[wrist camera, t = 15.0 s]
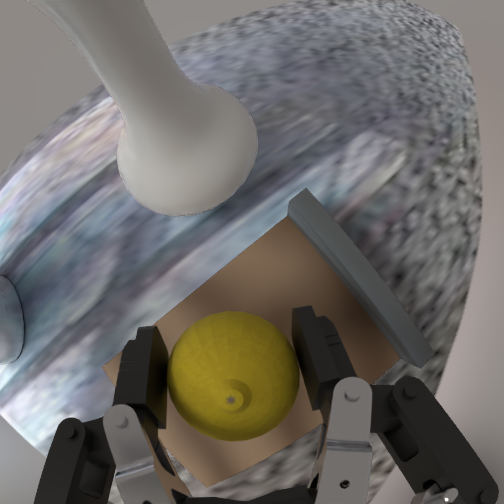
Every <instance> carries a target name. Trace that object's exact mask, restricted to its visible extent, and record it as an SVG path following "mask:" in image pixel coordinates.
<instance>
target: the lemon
mask: <svg viewBox="0 0 504 504" xmlns="http://www.w3.org/2000/svg"><path fill="white" fill-rule="evenodd" d="M167 385H168V390H169V395H170V398H171V400H172V402H173V404H174V406H175V408H176V410H177V412H178V413H179V414H180V416H181V417H182V418H183V419H184V420H185V421H186V423H187V424H189V425H190V426H191V427H193V428H194V429H196V430H197V431H198V432H200V433H201V434H204V435H206V436H209V437H211V438H214V439H217V440H223V441H229V442H235V441H247V440H250V439H254V438H257V437H260V436H262V435H264V434H266V433H268V432H269V431H271V430H273V429H274V428H276V427H277V426H278V425H279V424H280V423H281V422H282V421H283V420H284V419H285V418H286V417H287V415H288V414H289V412H290V410H291V409H292V407H293V405H294V403H295V401H296V397H297V394H298V390H299V386H300V368H299V364H298V361H297V357H296V354H295V351H294V349H293V347H292V346H291V344H290V342H289V341H288V339H287V337H286V336H285V335H284V334H283V333H282V332H281V331H280V330H279V329H278V328H277V327H276V326H275V325H273V324H272V323H270V322H268V321H266V320H265V319H263V318H261V317H260V316H256V315H253V314H250V313H246V312H237V311H225V312H220V313H215V314H211V315H209V316H207V317H205V318H203V319H200V320H198V321H196V322H195V323H194V324H193V325H191V326H190V327H189V328H188V329H187V330H185V331H184V332H183V334H182V335H181V336H180V338H179V339H178V341H177V342H176V344H175V345H174V347H173V349H172V352H171V355H170V358H169V360H168V367H167Z"/></svg>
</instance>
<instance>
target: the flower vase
mask: <svg viewBox="0 0 504 504" xmlns="http://www.w3.org/2000/svg"><path fill="white" fill-rule="evenodd" d="M26 1H28V2H29V3H30V4H32V5H33V6H34V7H36V8H37V9H38V10H39V11H41V12H42V13H43V14H45V15H46V16H47V17H48V18H49V19H51V21H53V22H54V23H55V24H56V25H57V26H58V27H59V28H60V29H61V30H62V32H63V33H64V34H65V35H66V36H67V37H68V38H69V39H70V41H71V42H72V43H73V44H74V46H75V47H76V48H77V49H78V51H79V52H80V53H81V55H82V56H83V57H84V59H85V60H86V62H87V63H88V65H89V66H90V67H91V69H92V70H93V71H94V73H95V74H96V76H97V77H98V78H99V80H100V81H101V83H102V84H103V85H104V87H105V88H106V89H107V91H108V92H109V94H110V95H111V97H112V98H113V100H114V101H115V103H116V105H117V106H118V108H119V110H120V113H121V115H122V119H123V122H124V126H123V129H122V131H121V134H120V137H119V142H118V149H117V163H118V170H119V175H120V177H121V179H122V181H123V183H124V185H125V187H126V189H127V191H128V193H129V194H130V195H131V196H132V197H133V198H134V199H135V200H136V201H137V202H138V203H139V204H140V205H141V206H143V207H145V208H147V209H149V210H151V211H153V212H155V213H157V214H161V215H167V216H173V217H181V216H190V215H197V214H200V213H203V212H205V211H208V210H211V209H213V208H216V207H217V206H219V205H220V204H222V203H223V202H225V201H226V200H228V199H229V198H231V197H232V196H233V195H234V194H235V193H236V191H237V190H238V189H239V188H240V187H241V186H242V185H243V184H244V183H245V181H246V179H247V178H248V176H249V174H250V172H251V170H252V168H253V167H254V165H255V160H256V156H257V151H258V135H257V128H256V126H255V123H254V121H253V119H252V116H251V114H250V112H249V111H248V109H247V108H246V107H245V106H244V105H243V104H242V103H241V101H240V100H239V99H238V98H237V97H236V96H235V95H233V94H231V93H230V92H228V91H226V90H224V89H223V88H221V87H218V86H214V85H211V84H207V83H202V82H193V81H192V80H190V79H189V78H188V77H187V76H186V75H185V74H184V73H183V72H182V70H181V69H180V67H179V66H178V64H177V63H176V61H175V59H174V58H173V56H172V54H171V52H170V50H169V49H168V47H167V45H166V43H165V41H164V39H163V37H162V36H161V33H160V32H159V30H158V28H157V26H156V24H155V22H154V20H153V18H152V16H151V14H150V12H149V10H148V8H147V6H146V4H145V2H144V0H26Z"/></svg>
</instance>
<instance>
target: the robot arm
mask: <svg viewBox="0 0 504 504" xmlns="http://www.w3.org/2000/svg"><path fill="white" fill-rule="evenodd" d="M291 336H292V343H293V347H294V350H295V353H296V357H297V360H298V363H299V367H300V370H301V374H302V377H303V380H304V384H305V387H306V390H307V394H308V397H309V401H310V404H311V408H312V411H315V410H320V412H321V415H322V418H323V424H322V430H321V435H320V440H319V446H318V451H317V456H316V460H315V464H314V467H313V470H312V474H311V478H310V482H309V487H308V488H307V486H306V485H303V486H298V487H293V488H288V489H282V490H277V491H274V492H271V493H269V494H266V495H264V496H261V497H258V498H255V499H253V500H250V501H237V500H230V499H223V498H217V497H197V498H193V496H192V495H191V493H190V491H189V490H188V488H187V487H186V485H185V484H184V482H183V481H182V480H181V479H180V477H179V476H178V474H177V472H176V470H175V468H174V466H173V464H172V462H171V460H170V458H169V456H168V454H167V452H166V450H165V448H164V445H163V443H162V441H161V439H160V438H159V437H158V429H166V423H167V391H168V385H167V367H168V360H169V355H168V350H167V347H166V345H165V343H164V341H163V338H162V336H161V334H160V331H159V329H158V327H157V326H147V327H139V328H138V331H137V336H136V340H129V341H128V343H127V344H126V346H125V347H124V349H123V350H122V355H121V360H120V361H121V363H120V366H119V372H118V376H117V382H116V388H115V394H114V401H113V405H112V407H111V408H109V409H108V410H107V412H106V413H105V415H104V416H103V417H101V418H99V419H95V420H92V421H88V422H84V423H82V422H81V421H80V420H78V419H76V418H66V419H64V420H63V421H62V422H61V423H60V424H59V426H58V428H57V430H56V433H55V436H54V439H53V441H52V444H51V447H50V450H49V453H48V456H47V459H46V462H45V465H44V469H43V472H42V475H41V478H40V482H39V485H38V489H37V493H36V497H35V500H34V504H107V502H108V498H109V494H110V490H111V485H112V481H113V477H114V473H115V469H116V467H117V474H116V475H115V481H116V485H117V487H118V490H119V492H120V495H121V497H122V499H123V502H124V504H366V499H367V493H368V486H369V479H370V472H371V464H372V447H371V446H370V444H369V437H370V433H377V434H378V436H379V438H380V439H381V441H382V442H383V444H384V445H385V447H386V448H387V450H388V452H389V453H390V455H391V456H392V458H393V459H394V461H395V462H396V464H397V466H398V467H399V469H400V470H401V472H402V473H403V475H404V476H405V478H406V480H407V481H408V483H409V484H410V486H411V488H412V489H413V491H414V492H415V494H416V495H415V496H414V498H413V500H412V502H411V504H495V503H496V501H497V498H498V493H499V490H498V486H497V484H496V482H495V481H494V479H493V478H492V476H491V475H490V473H489V472H488V470H487V469H486V467H485V466H484V464H483V463H482V461H481V460H480V458H479V457H478V456H477V454H476V453H475V452H474V450H473V449H472V447H471V446H470V444H469V443H468V442H467V440H466V439H465V437H464V436H463V435H462V433H461V432H460V431H459V429H458V428H457V426H456V425H455V424H454V422H453V421H452V420H451V418H450V417H449V416H448V414H447V413H446V412H445V411H444V409H443V408H442V406H441V405H440V404H439V403H438V401H437V400H436V399H435V397H434V396H433V395H432V393H431V392H430V391H429V390H428V388H427V387H426V386H425V385H424V383H423V382H422V381H421V380H419V379H418V378H415V377H411V376H407V377H403V378H401V379H399V380H398V381H397V382H396V383H395V385H371V384H368V383H367V382H366V381H364V380H363V379H361V378H359V377H358V376H357V374H356V372H355V370H354V368H353V366H352V363H351V361H350V359H349V356H348V354H347V352H346V350H345V347H344V345H343V344H342V341H341V338H340V336H339V335H338V332H337V329H336V327H335V325H334V323H333V322H332V321H331V320H329V319H328V318H327V317H326V316H319V317H316V315H315V313H314V310H313V308H312V306H311V305H309V306H303V307H297V308H293V309H292V328H291ZM23 338H24V322H23V314H22V309H21V304H20V301H19V298H18V295H17V293H16V291H15V288H14V287H13V285H12V284H11V282H10V281H9V280H8V279H7V278H6V277H3V276H0V364H5V363H10V362H13V361H15V360H16V359H17V358H18V356H19V355H20V352H21V350H22V345H23Z"/></svg>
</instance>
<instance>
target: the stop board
mask: <svg viewBox="0 0 504 504" xmlns="http://www.w3.org/2000/svg"><path fill="white" fill-rule="evenodd" d="M309 305H311V306H312V308H313V310H314V313H315V315H316V317H319V316H326V317H327V318H328V319H329V320H331V321H332V322H333V323H334V325H335V327H336V329H337V332H338V335H339V336H340V338H341V341H342V344H343V345H344V347H345V350H346V352H347V354H348V356H349V359H350V361H351V363H352V366H353V368H354V370H355V372H356V374H357V376H358V377H359V378H361V379H363V380H364V381H366V382H367V383H368V384H371V385H372V384H373V383H374V382H375V381H376V380H377V379H378V378H380V377H381V376H382V375H383V374H384V373H385V372H386V371H387V370H388V369H390V368H391V367H392V366H393V365H394V364H395V363H396V362H397V361H398V360H399V359H400V358H401V359H403V360H405V361H407V362H409V363H411V364H413V365H415V366H417V367H419V368H422V367H423V366H424V365H425V364H426V363H427V362H428V361H429V359H430V358H431V357H432V356H433V355H434V354H435V353H434V351H433V350H432V348H431V347H430V345H429V344H428V342H427V341H426V339H425V338H424V336H423V335H422V333H421V332H420V330H419V329H418V327H417V326H416V325H415V323H414V322H413V320H412V319H411V317H410V316H409V314H408V313H407V312H406V310H405V309H404V307H403V306H402V305H401V303H400V302H399V301H398V299H397V298H396V296H395V295H394V294H393V292H392V291H391V290H390V288H389V287H388V286H387V284H386V283H385V282H384V280H383V279H382V278H381V276H380V275H379V274H378V273H377V271H376V270H375V269H374V267H373V266H372V265H371V264H370V262H369V261H368V260H367V259H366V257H365V256H364V255H363V254H362V252H361V251H360V250H359V249H358V247H357V246H356V245H355V244H354V242H353V241H352V240H351V239H350V238H349V236H348V235H347V234H346V233H345V232H344V230H343V229H342V228H341V227H340V226H339V224H338V223H337V222H336V221H335V220H334V219H333V217H332V216H331V215H330V214H329V213H328V212H327V211H326V209H325V208H324V207H323V206H322V205H321V204H320V203H319V201H318V200H317V199H316V198H315V197H314V196H313V195H312V194H311V193H310V191H309V190H308V189H307V188H305V189H304V190H303V191H301V192H300V193H299V194H298V195H296V196H295V197H294V198H293V199H291V200H290V201H289V206H288V213H287V216H286V217H285V218H284V219H283V220H281V221H280V222H279V223H278V224H276V225H275V226H274V227H273V228H271V229H270V230H269V231H268V232H266V233H265V234H264V235H263V236H262V237H260V238H259V239H258V240H257V241H255V242H254V243H253V244H252V245H250V246H249V247H248V248H247V249H245V250H244V251H243V252H242V253H241V254H239V255H238V256H237V257H236V258H234V259H233V260H232V261H231V262H229V263H228V264H227V265H226V266H225V267H223V268H222V269H221V270H220V271H218V272H217V273H216V274H215V275H213V276H212V277H211V278H210V279H209V280H207V281H206V282H205V283H204V284H202V285H201V286H200V287H199V288H198V289H196V290H195V291H194V292H193V293H191V294H190V295H189V296H188V297H187V298H185V299H184V300H183V301H182V302H180V303H179V304H178V305H177V306H176V307H174V308H173V309H172V310H171V311H169V312H168V313H167V314H166V315H165V316H163V317H162V318H161V319H160V320H158V321H157V322H156V323H155V324H154V325H152V326H157V327H158V329H159V331H160V334H161V336H162V338H163V341H164V343H165V345H166V347H167V350H168V355H169V358H170V355H171V352H172V349H173V347H174V345H175V344H176V342H177V341H178V339H179V338H180V336H181V335H182V334H183V332H184V331H185V330H187V329H188V328H189V327H190V326H191V325H193V324H194V323H195V322H196V321H198V320H200V319H203V318H205V317H207V316H209V315H211V314H215V313H220V312H225V311H237V312H246V313H250V314H253V315H256V316H260V317H261V318H263V319H265V320H266V321H268V322H270V323H272V324H273V325H275V326H276V327H277V328H278V329H279V330H280V331H281V332H282V333H283V334H284V335H285V336H286V337H287V339H288V341H289V342H290V344H291V346H292V347H293V343H292V336H291V328H292V309H293V308H297V307H303V306H309ZM135 340H136V339H135ZM293 349H294V347H293ZM294 351H295V350H294ZM295 354H296V353H295ZM121 355H122V351H121V352H120V353H118V354H117V355H116V356H115V357H114V358H112V359H111V360H110V361H109V362H108V363H106V364H105V365H104V366H103V367H102V368H103V370H104V371H105V373H106V374H107V376H108V377H109V378H110V380H111V381H112V383H113V384H114V386H115V387H116V382H117V376H118V372H119V366H120V363H121V361H120V360H121ZM297 361H298V360H297ZM298 364H299V363H298ZM299 368H300V367H299ZM321 423H323V418H322V415H321V412H320V410H315V411H312V408H311V404H310V401H309V397H308V394H307V390H306V387H305V384H304V380H303V377H302V374H301V370H300V386H299V390H298V394H297V397H296V401H295V403H294V405H293V407H292V409H291V410H290V412H289V414H288V415H287V417H286V418H285V419H284V420H283V421H282V422H281V423H280V424H279V425H278V426H277V427H276V428H274V429H273V430H271V431H269V432H268V433H266V434H264V435H262V436H260V437H257V438H254V439H250V440H247V441H235V442H229V441H223V440H217V439H214V438H211V437H209V436H206V435H204V434H201V433H200V432H198V431H197V430H196V429H194V428H193V427H191V426H190V425H189V424H187V423H186V421H185V420H184V419H183V418H182V417H181V416H180V414H179V413H178V412H177V410H176V408H175V406H174V404H173V402H172V400H171V398H170V395H169V390H168V391H167V423H166V429H158V437H159V438H160V439H161V441H162V443H163V445H164V446H165V448H166V449H167V450H168V451H169V452H170V453H171V454H172V455H173V456H174V457H175V458H176V459H177V460H178V461H179V462H180V463H181V464H182V465H183V466H184V467H185V468H186V469H187V470H188V471H189V472H190V473H191V474H193V475H194V476H195V477H196V478H197V479H198V480H199V481H200V482H201V483H202V484H203V485H205V486H206V487H209V486H211V485H214V484H216V483H218V482H220V481H223V480H225V479H227V478H229V477H231V476H233V475H235V474H237V473H239V472H241V471H243V470H245V469H247V468H249V467H251V466H253V465H255V464H257V463H259V462H260V461H262V460H264V459H266V458H268V457H269V456H271V455H273V454H275V453H276V452H278V451H280V450H281V449H283V448H285V447H286V446H288V445H290V444H291V443H293V442H294V441H296V440H297V439H299V438H301V437H302V436H304V435H305V434H307V433H308V432H310V431H311V430H313V429H314V428H316V427H317V426H318V425H320V424H321Z"/></svg>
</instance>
